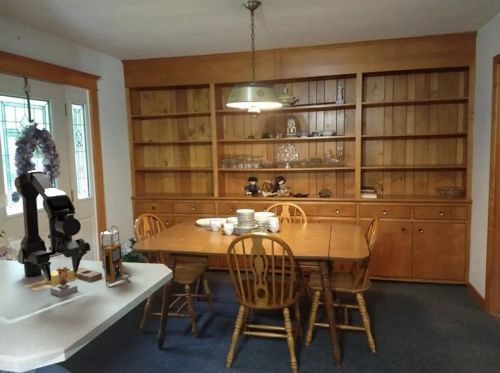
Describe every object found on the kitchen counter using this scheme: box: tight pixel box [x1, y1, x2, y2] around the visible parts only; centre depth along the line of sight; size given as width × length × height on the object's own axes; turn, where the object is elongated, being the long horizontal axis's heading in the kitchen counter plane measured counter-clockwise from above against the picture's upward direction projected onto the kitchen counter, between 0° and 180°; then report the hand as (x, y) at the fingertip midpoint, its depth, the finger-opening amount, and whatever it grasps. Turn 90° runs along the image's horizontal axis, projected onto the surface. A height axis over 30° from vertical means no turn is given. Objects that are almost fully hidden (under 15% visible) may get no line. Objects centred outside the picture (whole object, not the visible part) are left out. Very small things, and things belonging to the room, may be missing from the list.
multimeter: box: [102, 225, 132, 288], centre depth 143 cm, size 15×10×20 cm
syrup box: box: [99, 230, 120, 268], centre depth 161 cm, size 6×6×14 cm
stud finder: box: [44, 267, 75, 284], centre depth 144 cm, size 6×8×4 cm
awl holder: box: [49, 282, 79, 297], centre depth 132 cm, size 6×6×2 cm
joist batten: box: [71, 266, 103, 282], centre depth 147 cm, size 15×5×2 cm, turn 56°
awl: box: [57, 266, 69, 289], centre depth 132 cm, size 3×3×9 cm
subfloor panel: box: [24, 277, 79, 292], centre depth 142 cm, size 10×15×1 cm, turn 146°
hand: (62, 276), depth 132 cm, fingers open, 9 cm apart
